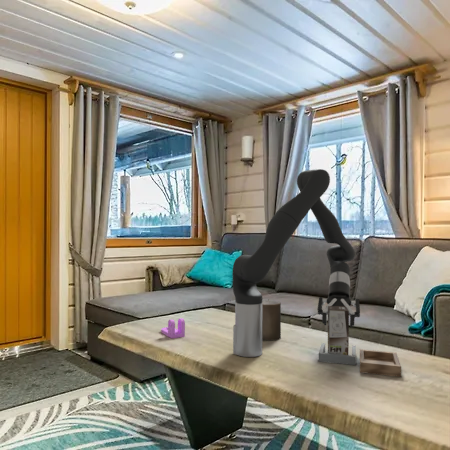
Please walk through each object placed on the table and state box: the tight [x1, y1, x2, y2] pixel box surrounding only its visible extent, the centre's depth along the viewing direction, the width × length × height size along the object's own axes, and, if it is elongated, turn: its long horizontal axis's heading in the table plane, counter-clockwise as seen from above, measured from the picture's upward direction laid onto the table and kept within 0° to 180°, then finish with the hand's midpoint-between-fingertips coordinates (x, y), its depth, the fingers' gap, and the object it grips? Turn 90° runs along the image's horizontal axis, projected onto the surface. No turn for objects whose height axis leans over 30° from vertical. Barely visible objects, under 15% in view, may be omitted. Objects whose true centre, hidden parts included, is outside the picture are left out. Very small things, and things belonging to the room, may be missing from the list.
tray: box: [359, 348, 402, 378], centre depth 124 cm, size 11×14×3 cm
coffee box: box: [327, 306, 350, 355], centre depth 135 cm, size 9×6×16 cm
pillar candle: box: [262, 299, 282, 341], centre depth 158 cm, size 10×10×15 cm
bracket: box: [160, 317, 186, 339], centre depth 162 cm, size 13×6×7 cm, turn 30°
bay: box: [317, 342, 357, 366], centre depth 134 cm, size 11×13×2 cm
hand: (338, 325), depth 137 cm, fingers open, 8 cm apart
